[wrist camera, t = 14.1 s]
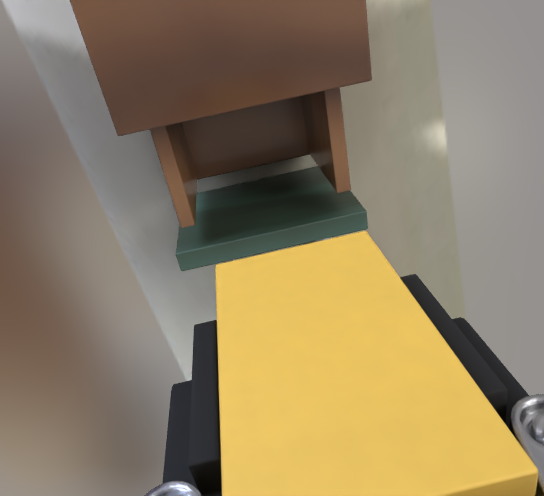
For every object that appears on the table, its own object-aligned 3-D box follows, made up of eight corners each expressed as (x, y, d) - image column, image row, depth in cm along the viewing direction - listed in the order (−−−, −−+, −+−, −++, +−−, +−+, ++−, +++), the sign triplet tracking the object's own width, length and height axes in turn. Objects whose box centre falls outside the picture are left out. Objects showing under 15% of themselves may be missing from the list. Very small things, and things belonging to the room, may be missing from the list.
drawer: (340, 249, 37) (376, 313, 29) (208, 279, 36) (208, 352, 29) (303, -32, 27) (342, -48, 19) (124, 6, 27) (91, 5, 19)
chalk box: (215, 264, 12) (222, 547, 6) (366, 229, 12) (541, 470, 6) (250, 386, 14) (285, 692, 8) (378, 357, 14) (516, 634, 8)
